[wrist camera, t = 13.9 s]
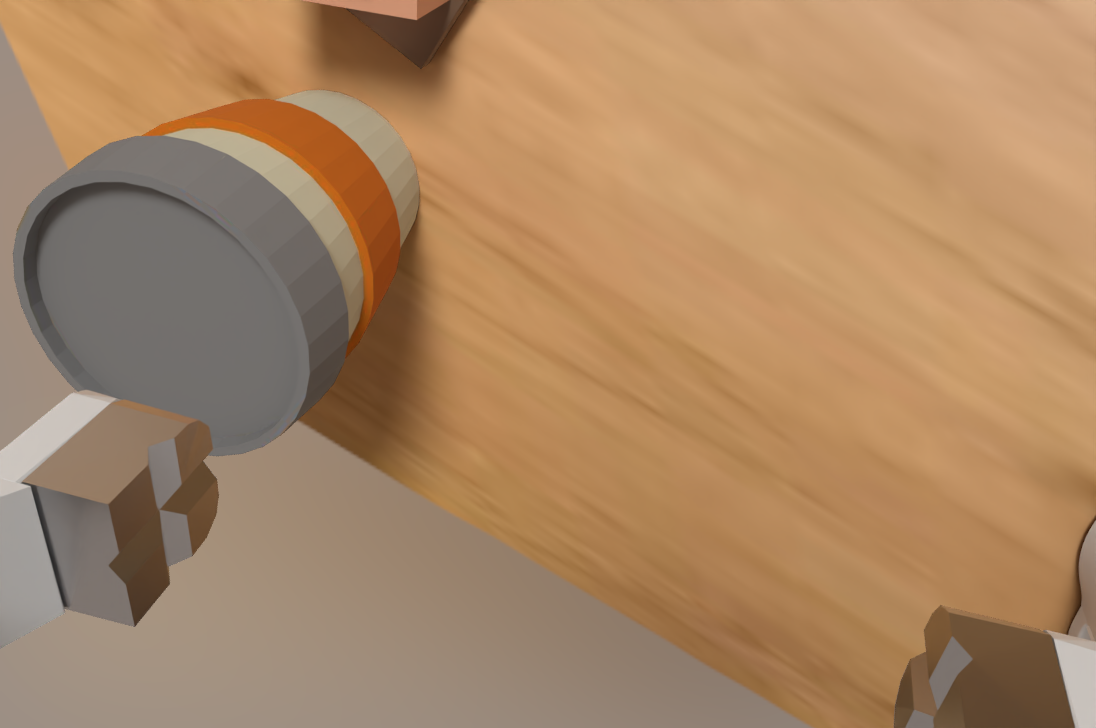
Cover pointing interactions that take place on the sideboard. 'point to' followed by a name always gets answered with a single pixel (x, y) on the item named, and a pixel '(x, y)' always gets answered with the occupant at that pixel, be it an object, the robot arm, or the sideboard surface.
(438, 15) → the base
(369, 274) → the reusable coffee cup
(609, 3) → the sideboard surface
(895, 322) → the sideboard surface
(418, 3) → the pink square socket block
